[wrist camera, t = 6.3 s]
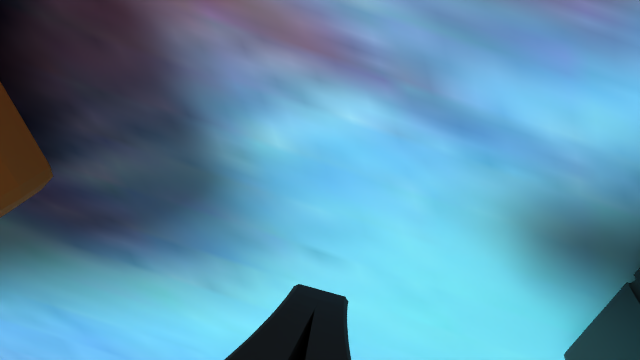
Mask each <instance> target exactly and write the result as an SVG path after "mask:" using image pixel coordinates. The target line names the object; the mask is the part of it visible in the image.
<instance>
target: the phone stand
mask: <svg viewBox="0 0 640 360" xmlns="http://www.w3.org/2000/svg"><path fill="white" fill-rule="evenodd" d="M634 277H635V278H636V280H635V281H634V282H632V283H628V282H627V283H626V284H625V285H624V286H623V287H622V288H621V290H620V291H619V292H618V293H617V294H616V295H615V296H614V298H613V299H612V300H611V301H610V302H609V303H608V304H607V306H606V307H605V308H604V309H603V310H602V311H601V312H600V314H599V315H598V316H597V317H596V318H595V319H594V320H593V322H592V323H591V324H590V325H589V326H588V327H587V328H586V330H585V331H584V332H583V333H582V334H581V335H580V336H579V338H578V339H577V340H576V341H575V342H574V343H573V344H572V346H571V347H570V348H569V349H568V350H567V351H566V352H565V354H564V357H565V360H640V268H639V269H638V270H637V271H636V272H635V274H634Z"/></svg>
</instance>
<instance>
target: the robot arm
mask: <svg viewBox="0 0 640 360" xmlns="http://www.w3.org/2000/svg"><path fill="white" fill-rule="evenodd" d="M347 306H348V300H347V299H346V297H344V296H341V295H337V294H333V293H330V292H326V291H322V290H319V289H315V288H312V287H308V286H304V285H301V284H298V285H296V286H294V287H293V289H292V290H291V291H290V293H289V294H288V296H287V297H286V298H285V299H284V301H283V302H282V303H281V304H280V305H279V307H278V308H277V309H276V310H275V311H274V312H273V313H272V315H271V316H270V317H269V318H268V319H267V320H266V321H265V322H264V323H263V324H262V325H261V326H260V327H259V328H258V329H257V330H256V331H255V332H254V333H253V334H252V335H251V336H250V337H249V338H248V339H247V340H246V341H245V342H244V343H243V344H241V345H240V346H239V347H238V348H237V349H236V350H235V351H234V352H233V353H231V354H230V355H229V356H228V357H227V358H226V359H225V360H351V356H350V350H349V342H348V330H347Z"/></svg>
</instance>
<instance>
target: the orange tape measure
mask: <svg viewBox="0 0 640 360" xmlns="http://www.w3.org/2000/svg"><path fill="white" fill-rule="evenodd" d="M52 177H53V174H52V170H51V167H50V165H49V163H48V161H47V160H46V158H45V156H44V155H43V153H42V151H41V150H40V148H39V146H38V145H37V143H36V141H35V139H34V138H33V136H32V134H31V133H30V131H29V129H28V128H27V126H26V124H25V123H24V121H23V119H22V117H21V116H20V114H19V112H18V111H17V109H16V107H15V106H14V104H13V102H12V101H11V99H10V97H9V96H8V94H7V92H6V90H5V89H4V87H3V85H2V84H1V82H0V217H2V216H3V215H5V214H7V213H8V212H10V211H11V210H13V209H14V208H16V207H17V206H19V205H20V204H22V203H23V202H25V201H26V200H27V199H29V198H30V197H32V196H33V195H35V194H36V193H38V192H39V191H41V190H42V189H43V187H44V186H45V185H46V184H47V183H48V182H49V181H50V180H51V179H52Z"/></svg>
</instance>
